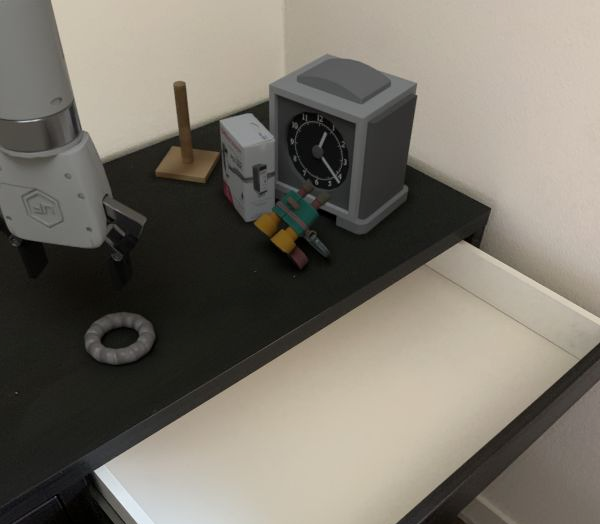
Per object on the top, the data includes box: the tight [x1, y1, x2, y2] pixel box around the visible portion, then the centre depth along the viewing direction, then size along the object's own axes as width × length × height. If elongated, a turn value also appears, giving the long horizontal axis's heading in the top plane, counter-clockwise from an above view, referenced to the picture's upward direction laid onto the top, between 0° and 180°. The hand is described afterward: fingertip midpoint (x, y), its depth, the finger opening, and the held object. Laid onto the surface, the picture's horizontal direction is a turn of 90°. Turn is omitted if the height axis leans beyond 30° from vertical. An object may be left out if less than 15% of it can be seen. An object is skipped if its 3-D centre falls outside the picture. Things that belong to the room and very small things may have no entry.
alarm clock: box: [268, 53, 418, 235], centre depth 94 cm, size 18×13×18 cm
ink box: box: [219, 112, 276, 223], centre depth 94 cm, size 9×5×12 cm, turn 27°
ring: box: [83, 311, 157, 366], centre depth 77 cm, size 8×8×2 cm
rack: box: [154, 80, 221, 184], centre depth 100 cm, size 8×8×13 cm
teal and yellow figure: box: [253, 179, 331, 270], centre depth 87 cm, size 9×9×10 cm
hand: (81, 277), depth 71 cm, fingers open, 9 cm apart
